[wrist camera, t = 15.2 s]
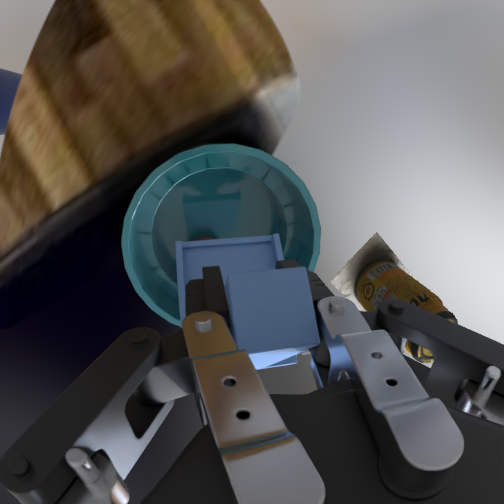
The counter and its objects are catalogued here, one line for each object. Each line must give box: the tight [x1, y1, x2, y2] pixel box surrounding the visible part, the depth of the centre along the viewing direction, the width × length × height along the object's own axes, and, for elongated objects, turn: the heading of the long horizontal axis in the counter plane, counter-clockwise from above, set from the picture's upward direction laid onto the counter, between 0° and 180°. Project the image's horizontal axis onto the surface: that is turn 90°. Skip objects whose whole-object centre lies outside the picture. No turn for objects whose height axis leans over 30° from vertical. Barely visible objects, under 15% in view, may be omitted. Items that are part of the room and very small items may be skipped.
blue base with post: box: [175, 234, 320, 369], centre depth 15 cm, size 8×7×11 cm
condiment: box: [330, 233, 458, 363], centre depth 29 cm, size 7×8×12 cm
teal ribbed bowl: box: [121, 142, 321, 327], centre depth 27 cm, size 15×15×6 cm
